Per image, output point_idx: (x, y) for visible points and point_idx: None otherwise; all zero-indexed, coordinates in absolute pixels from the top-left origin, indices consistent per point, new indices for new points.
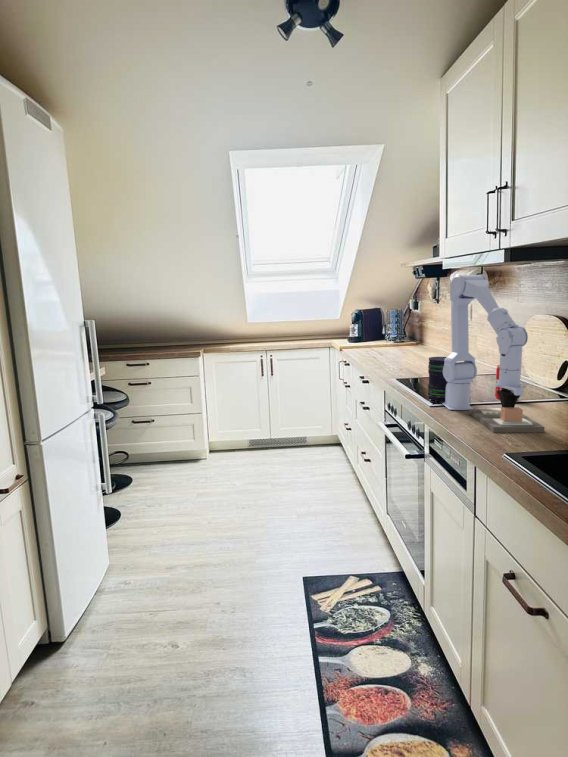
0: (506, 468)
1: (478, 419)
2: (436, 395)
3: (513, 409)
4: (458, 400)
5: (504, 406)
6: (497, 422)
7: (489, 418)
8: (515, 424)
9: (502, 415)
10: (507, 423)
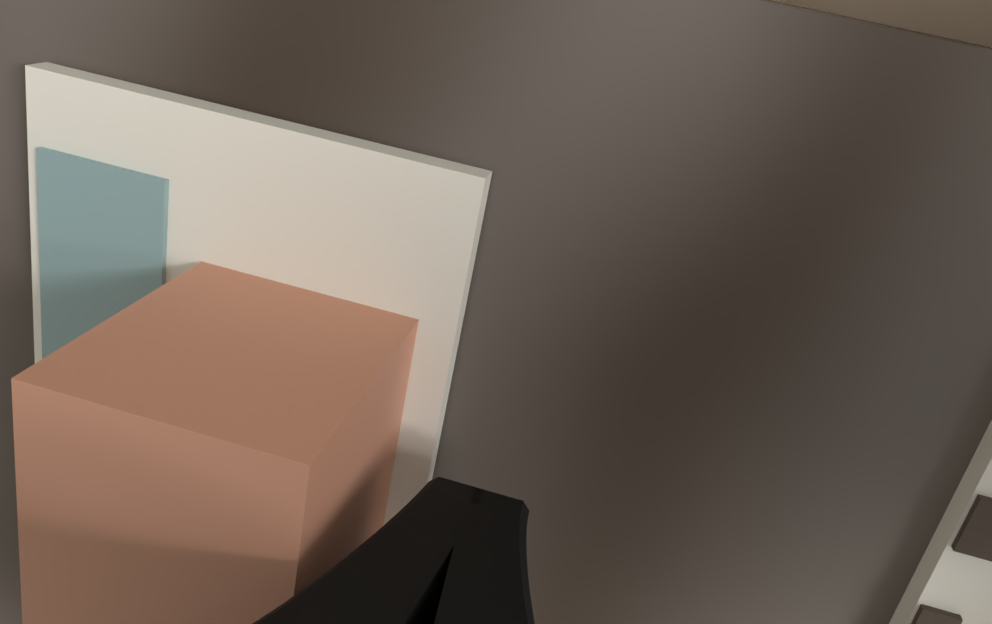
0: None
1: (945, 38)
2: None
3: (40, 590)
4: None
5: (316, 581)
6: (194, 104)
7: (654, 189)
8: (46, 355)
9: (258, 333)
10: (39, 224)
